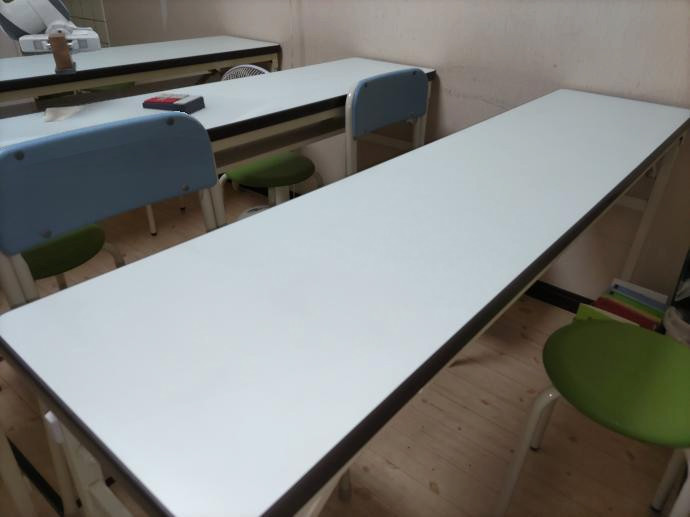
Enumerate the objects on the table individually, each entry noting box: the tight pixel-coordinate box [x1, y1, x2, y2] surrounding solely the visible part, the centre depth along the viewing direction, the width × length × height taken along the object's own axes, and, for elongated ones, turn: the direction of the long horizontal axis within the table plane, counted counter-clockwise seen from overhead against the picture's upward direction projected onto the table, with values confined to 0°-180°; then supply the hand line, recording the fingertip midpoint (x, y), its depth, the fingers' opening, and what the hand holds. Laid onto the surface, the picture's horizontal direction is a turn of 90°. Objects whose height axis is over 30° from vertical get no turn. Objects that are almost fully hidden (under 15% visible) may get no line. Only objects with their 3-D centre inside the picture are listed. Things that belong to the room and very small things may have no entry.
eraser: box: [48, 33, 78, 76], centre depth 140 cm, size 5×10×9 cm, turn 23°
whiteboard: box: [42, 105, 90, 124], centre depth 149 cm, size 20×16×1 cm
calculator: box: [142, 93, 206, 115], centre depth 157 cm, size 11×4×15 cm
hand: (60, 47), depth 139 cm, fingers closed on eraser, 4 cm apart
